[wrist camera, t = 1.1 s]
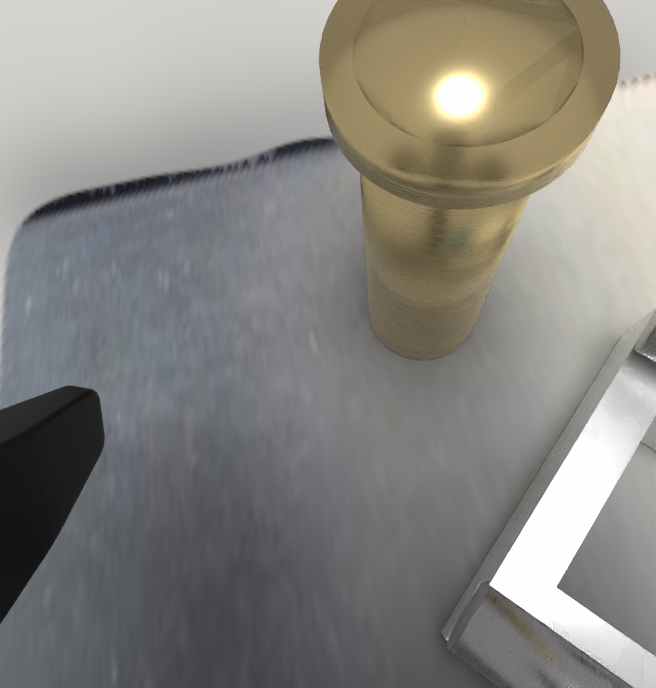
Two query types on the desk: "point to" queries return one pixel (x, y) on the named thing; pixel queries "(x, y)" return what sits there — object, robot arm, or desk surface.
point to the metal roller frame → (563, 546)
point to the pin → (456, 140)
